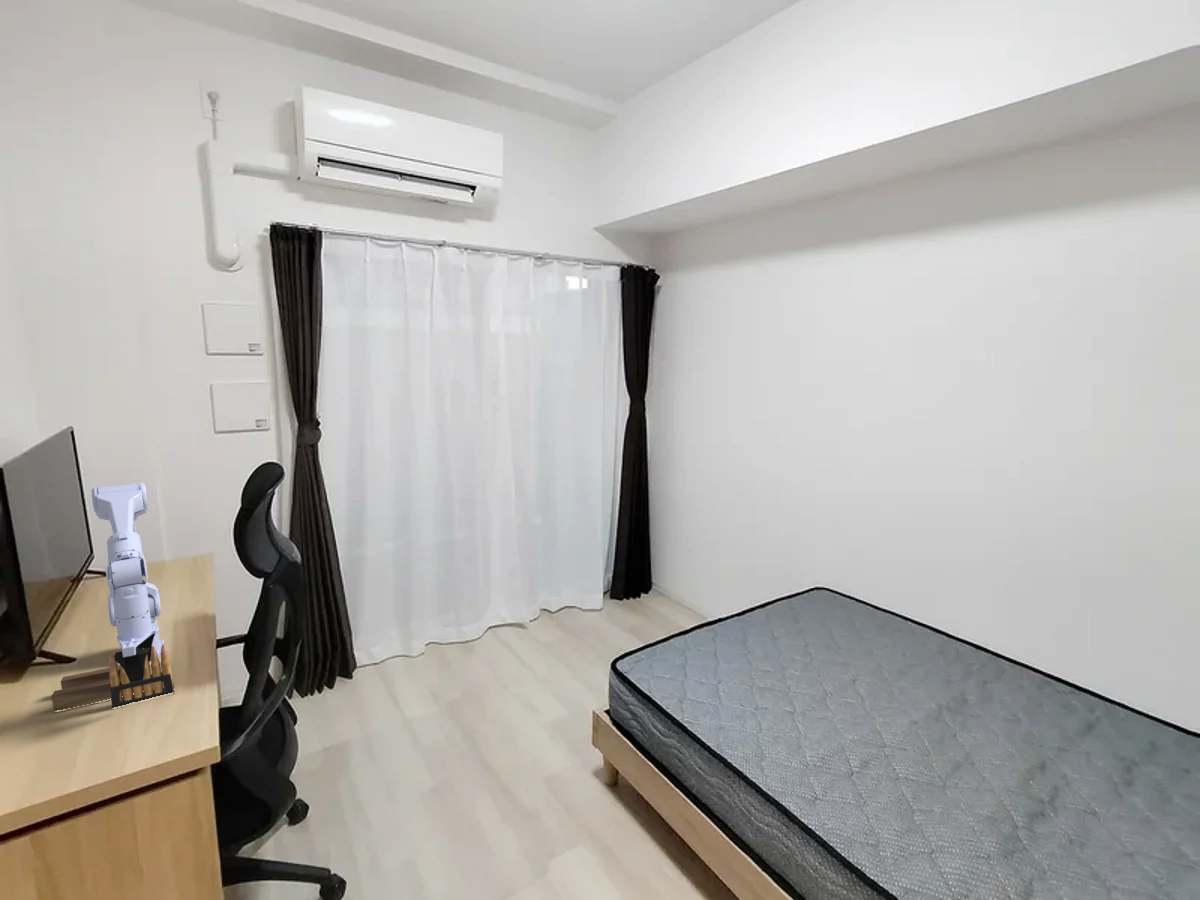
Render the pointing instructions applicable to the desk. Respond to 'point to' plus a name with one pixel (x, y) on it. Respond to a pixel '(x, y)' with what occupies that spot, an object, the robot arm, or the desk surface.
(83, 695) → the walnut rack
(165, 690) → the ammunition clip
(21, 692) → the desk surface
